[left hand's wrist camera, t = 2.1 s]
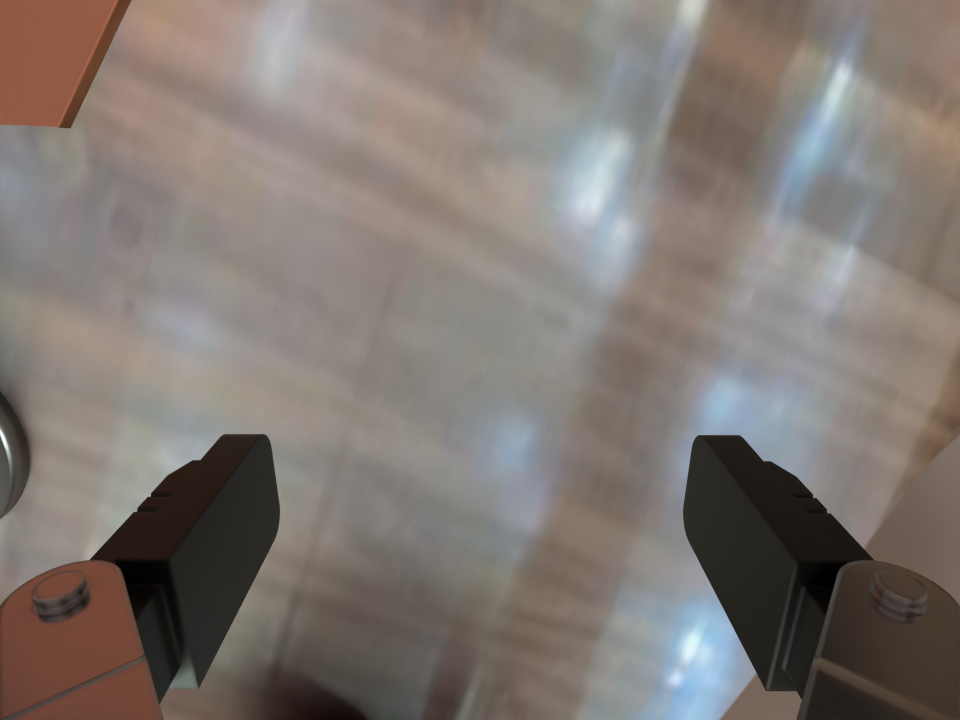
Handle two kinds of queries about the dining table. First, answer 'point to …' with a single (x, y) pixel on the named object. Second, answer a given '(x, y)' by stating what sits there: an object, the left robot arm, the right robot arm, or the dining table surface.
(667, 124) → the dining table surface
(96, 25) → the cabinet
